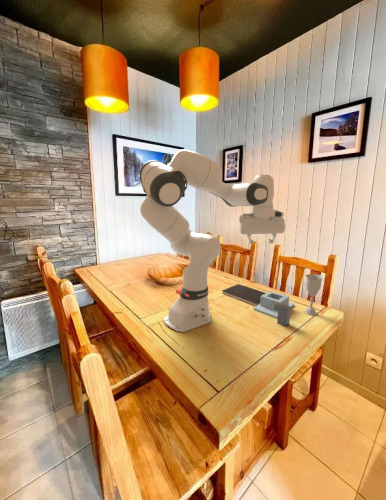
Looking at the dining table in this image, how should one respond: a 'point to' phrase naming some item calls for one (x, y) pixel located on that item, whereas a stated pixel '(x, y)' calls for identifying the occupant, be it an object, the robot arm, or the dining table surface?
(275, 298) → the grey socket base
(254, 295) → the hardcover book
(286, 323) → the bracket
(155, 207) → the robot arm
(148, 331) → the dining table surface
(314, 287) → the chalice
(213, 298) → the dining table surface
